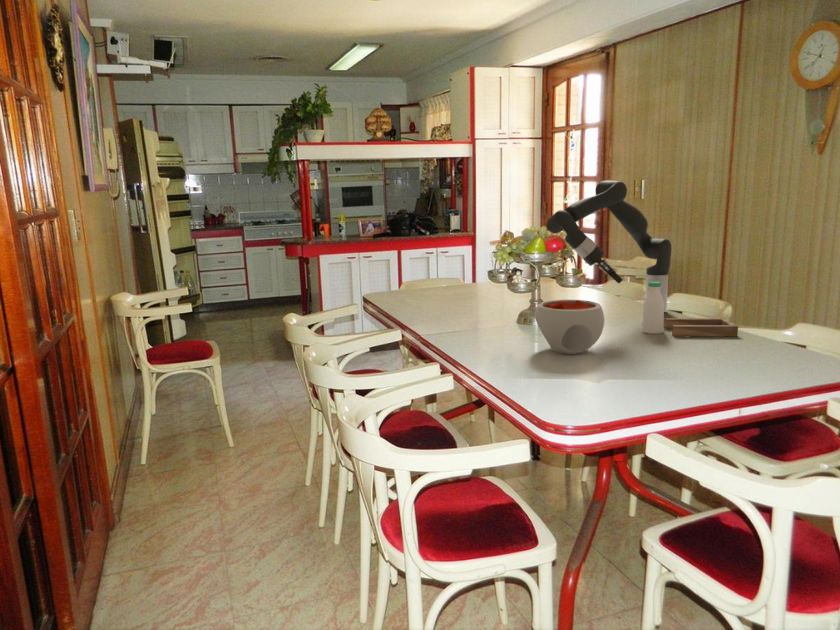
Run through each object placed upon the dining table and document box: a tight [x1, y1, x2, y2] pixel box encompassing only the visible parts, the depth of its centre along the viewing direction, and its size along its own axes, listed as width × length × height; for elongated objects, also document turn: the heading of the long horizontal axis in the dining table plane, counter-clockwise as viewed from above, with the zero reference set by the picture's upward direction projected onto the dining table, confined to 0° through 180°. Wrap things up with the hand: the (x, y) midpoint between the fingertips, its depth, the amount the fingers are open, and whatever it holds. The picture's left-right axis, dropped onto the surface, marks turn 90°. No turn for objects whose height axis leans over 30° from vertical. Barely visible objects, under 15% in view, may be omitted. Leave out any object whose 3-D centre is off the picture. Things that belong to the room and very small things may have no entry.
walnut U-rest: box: [663, 317, 739, 338], centre depth 245 cm, size 15×23×4 cm, turn 82°
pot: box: [534, 299, 605, 355], centre depth 222 cm, size 24×24×18 cm
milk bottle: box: [641, 282, 665, 335], centre depth 246 cm, size 8×8×20 cm
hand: (620, 281), depth 246 cm, fingers closed
